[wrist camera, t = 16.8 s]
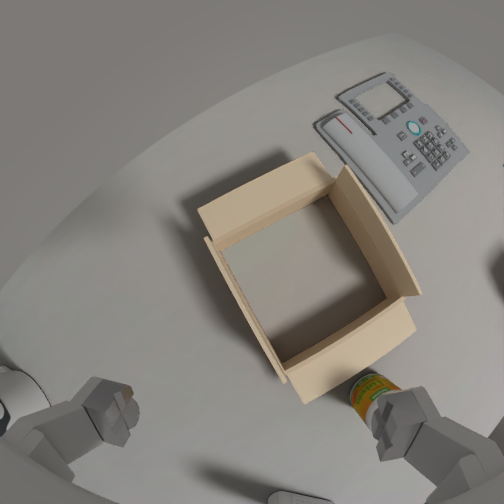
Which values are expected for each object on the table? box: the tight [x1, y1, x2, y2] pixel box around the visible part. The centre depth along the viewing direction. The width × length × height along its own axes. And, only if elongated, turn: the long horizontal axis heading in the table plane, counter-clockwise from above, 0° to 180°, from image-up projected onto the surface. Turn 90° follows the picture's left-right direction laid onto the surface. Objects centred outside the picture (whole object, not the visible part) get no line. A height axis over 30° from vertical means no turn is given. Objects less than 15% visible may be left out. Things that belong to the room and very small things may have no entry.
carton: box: [197, 152, 422, 404], centre depth 29 cm, size 16×24×8 cm, turn 29°
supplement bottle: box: [350, 374, 401, 431], centre depth 25 cm, size 5×5×10 cm
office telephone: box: [316, 72, 469, 225], centre depth 35 cm, size 23×3×20 cm
